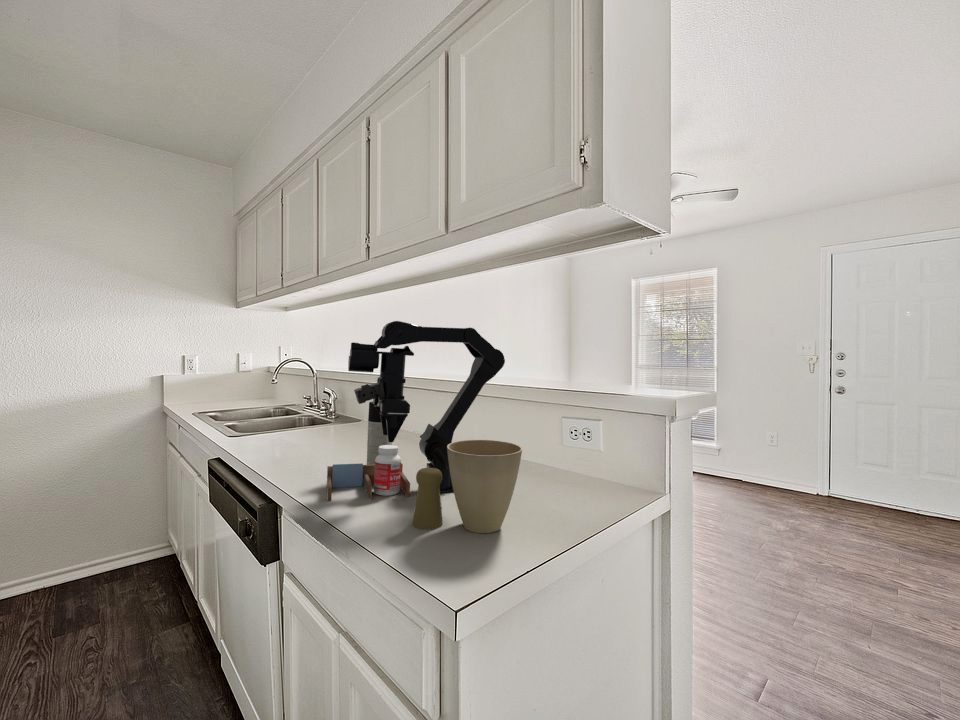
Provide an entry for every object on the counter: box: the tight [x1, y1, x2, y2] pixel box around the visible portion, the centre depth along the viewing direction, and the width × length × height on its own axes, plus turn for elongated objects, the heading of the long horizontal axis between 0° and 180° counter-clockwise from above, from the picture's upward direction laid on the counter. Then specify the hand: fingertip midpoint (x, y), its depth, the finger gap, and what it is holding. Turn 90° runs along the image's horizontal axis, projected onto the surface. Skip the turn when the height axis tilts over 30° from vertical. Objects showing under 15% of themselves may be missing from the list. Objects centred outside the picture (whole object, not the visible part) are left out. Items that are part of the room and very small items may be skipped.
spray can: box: [366, 401, 393, 465], centre depth 126 cm, size 7×7×20 cm
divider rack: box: [326, 462, 411, 502], centre depth 111 cm, size 18×12×6 cm, turn 109°
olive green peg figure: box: [411, 467, 443, 530], centre depth 92 cm, size 6×6×11 cm
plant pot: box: [447, 439, 523, 534], centre depth 91 cm, size 15×15×16 cm
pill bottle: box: [373, 444, 402, 497], centre depth 111 cm, size 6×6×11 cm
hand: (388, 438), depth 111 cm, fingers open, 9 cm apart
